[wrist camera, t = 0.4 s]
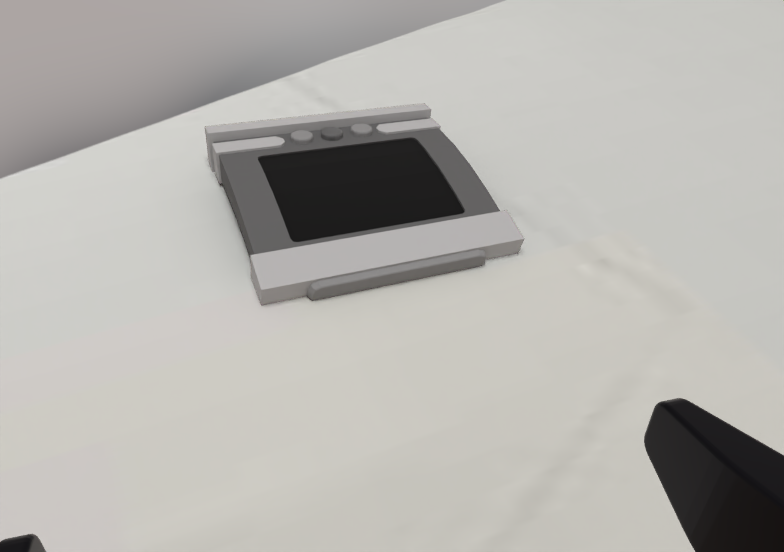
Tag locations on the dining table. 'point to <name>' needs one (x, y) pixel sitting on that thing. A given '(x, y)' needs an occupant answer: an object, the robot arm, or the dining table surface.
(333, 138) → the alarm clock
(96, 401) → the dining table surface
